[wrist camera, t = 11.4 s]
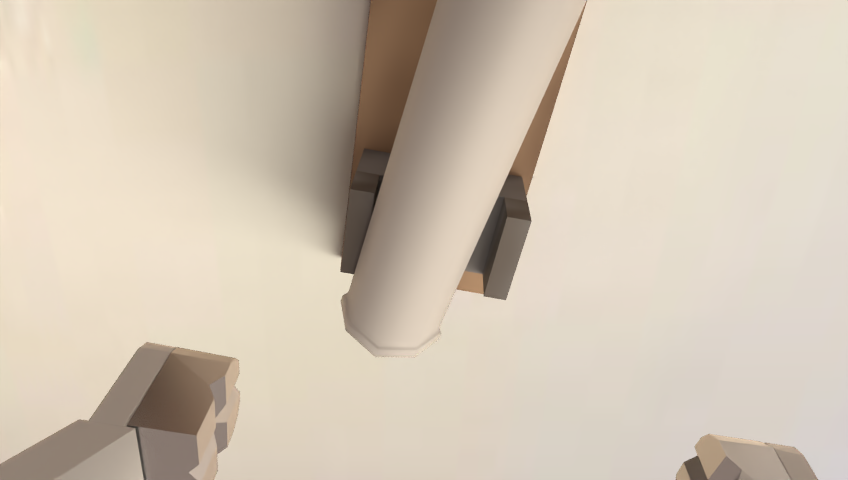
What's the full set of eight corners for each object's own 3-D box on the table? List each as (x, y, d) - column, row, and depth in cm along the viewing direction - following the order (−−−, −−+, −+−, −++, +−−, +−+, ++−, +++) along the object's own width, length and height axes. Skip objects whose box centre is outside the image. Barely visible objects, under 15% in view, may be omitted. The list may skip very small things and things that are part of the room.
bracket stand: (665, -279, 22) (727, -326, 17) (494, 284, 37) (500, 348, 32) (412, -336, 21) (397, -402, 16) (343, 258, 36) (325, 319, 31)
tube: (492, -322, 16) (324, 296, 30) (625, -314, 13) (369, 371, 27) (606, -250, 19) (406, 280, 33) (736, -230, 16) (454, 346, 30)
